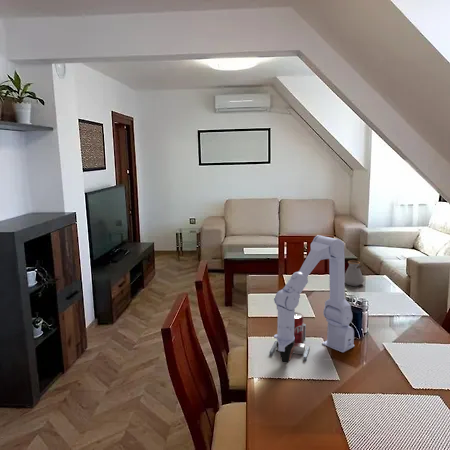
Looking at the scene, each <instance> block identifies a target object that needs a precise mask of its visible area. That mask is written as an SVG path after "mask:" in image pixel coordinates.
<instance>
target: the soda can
mask: <svg viewBox="0 0 450 450" xmlns="http://www.w3.org/2000/svg"><path fill="white" fill-rule="evenodd" d="M303 324H304V315H303V314H302V313H300V312H298V311H295V316H294V337H295V340H294V341H295V343H302V344H304V340H303Z"/></svg>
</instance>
